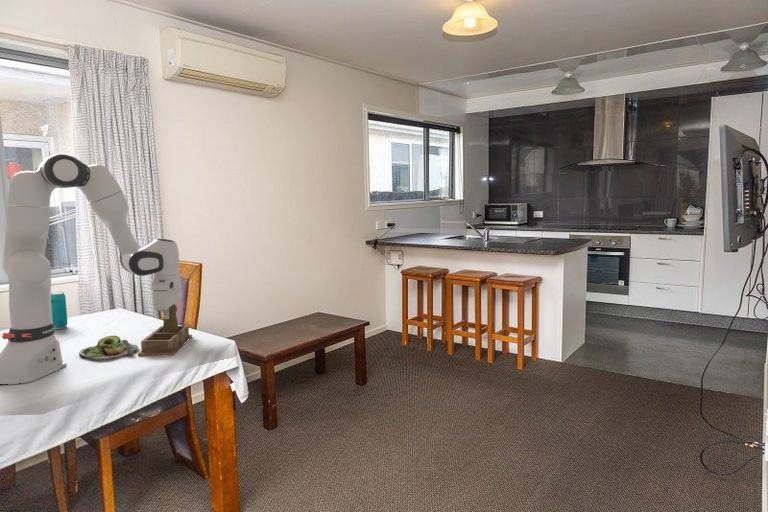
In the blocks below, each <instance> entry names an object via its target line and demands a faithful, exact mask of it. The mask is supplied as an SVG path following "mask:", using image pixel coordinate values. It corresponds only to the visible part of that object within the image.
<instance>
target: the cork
mask: <svg viewBox="0 0 768 512" xmlns="http://www.w3.org/2000/svg"><path fill="white" fill-rule="evenodd" d="M177 312H178V307H177V304H176V305H172V306H171V307H169V314H170V318H169V319H164V318H163V323H162V326H163V333H173V332H179V326H180V325H179V322H178V318H177Z"/></svg>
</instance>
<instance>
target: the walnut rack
mask: <svg viewBox="0 0 768 512" xmlns="http://www.w3.org/2000/svg"><path fill="white" fill-rule="evenodd" d="M178 326H179V332H173V333H163V325H160V326H159V327H158V328H157V329H156V330H154V331H153V332H151V333H150V334H148V336H146V337H145V338H144V339H141V340H140V345H141V350H140V351H139V352H138V353H137V356H138V357H154V356H155V357H156V356H157V357H159V356H161V357H162V355H172V356H175V355H176V354H177V352H179V351H180V349H181V348H182V347H183V346H184V345H185V344H186V343H187V342H188V341H189V340H190V338H191V337H193V335H192V334H190V331H189V327H190V326H189V325H178ZM188 339H189V340H188ZM187 340H188V341H187ZM186 341H187V342H186ZM185 342H186V343H185ZM184 343H185V344H184ZM183 344H184V345H183ZM182 345H183V346H182ZM181 346H182V347H181Z"/></svg>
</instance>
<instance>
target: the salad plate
mask: <svg viewBox="0 0 768 512" xmlns="http://www.w3.org/2000/svg"><path fill="white" fill-rule="evenodd" d="M138 347H139V346H138V345H137V344H133V343H129V341H128V340H127V339H122V340H121V338H120V336H118V335H108V336H105V337H102V338H100V339H99V340H98V341H97V344H96V345H94V346H89V347H86V348H83V349H81V350H79V352H78V353H79V356H80V357H81V358H83V359H87V358H88V360H92V359H93V360H92V361H100V360H102V361H110V359H112V360H116V359H119V358H122V357H126V356H129V355H133V354H134V352H135V351H137V349H138ZM103 355H104V356H103ZM109 355H110V356H109Z"/></svg>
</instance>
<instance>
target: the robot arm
mask: <svg viewBox="0 0 768 512" xmlns="http://www.w3.org/2000/svg"><path fill="white" fill-rule="evenodd" d="M75 187H76V188H77V189H79V190H80V191H81V192H82V194H83V195H85V198H86V200H87V201H88V203H89V205H90V207H91V208H92V210H93V211H94V213H95V214H96V216H97V217H98V218H99V219H100V220H101V221H102V223H103V224H104V225H105V226H106V228H107V229H108V231H109V233H110V235H111V236H112V238H113V240H114V242H115V244H116V246H117V248H118V251H119V262H120V265H121V267H122V268H123V270H124V271H126V272H129V273H132V274H133V275H136V276H140V277H144V276H145V277H146V276H148V275H152V274H154V279H153V282H152V283H150V290H151V291H153V292H152V301H153V308H154V310H155V312H162V314H163V320H164V319H169V318H170V314H169V307H171V306H172V305H176V306H177V303H178V302H179V301H181V300H182V299H183V291H182V284H181V272H180V267H179V266H180V254H179V253H180V252H179V247H178V244H177V242H176V241H174V240H172V239H166V238H155V239H154V240H153V241H152V242H151V243H149V244H147V245H146V246H143V247H142V246H141V245H139V244H138V243H137V241H136V239H135V237H134V235H133V233H132V230H131V229H130V227H129V225H128V221H127V218H128V217H127V216H128V214H129V208H130V207H129V204H128V201H127V199H126V196H125V194H124V191H123V190H122V188H121V186H120V185H119V183H118V181H117V180H116V179H115V177H114V176H113V174H112V173H111V172H110V170H109V169H108V168H107V167H106V166H105V165H101V164H90V165H87V164H85V163H83V161H81V160H80V159H78V158H77V157H75V156H73V155H70V154H68V153H67V154H66V153H53V154H50V155H48V156H46V157H45V158H44V159H43V160H42V161H41V162H40V163H39V164H38V166H37V167H36V169H35V170H34V171H33V170H32V171H31V170H24V171H23V170H22V171H19V172H17V173H14V175H13V176H12V178H11V179H10V184H9V188H8V192H7V201H6V202H7V205H6V229H5V238H4V246H3V256H2V257H3V260H2V268H3V271H4V273H5V274H6V275H7V278H8V292H9V293H8V310H9V318H10V319H9V320H10V327H9V331H8V332H3V333H2V335H1V338H2V339H3V340H7V343H6V345H5V346H4V348H3V349H2V350H1V352H0V384H8V385H19V383H21V384H26V383H31V382H32V383H33V382H34V381H36V380H39V379H41V378H42V377H45V376H47V375H49V374H52V373H54V372H55V371H58V370H60V369H62V368H64V367H66V366H67V362H66V361H64V360H63V356H62V351H61V350H62V349H61V345H60V341H59V340H58V339H57V337H56V336H55V333H56V329H55V326H54V322H52V312H51V293H52V265H51V262H50V261H49V259H48V258H47V257H46V248H47V242H48V237H49V233H50V217H51V216H50V214H51V213H50V211H51V209H50V208H51V196H52V193H53V191H54V190H55V189H67V188H75Z"/></svg>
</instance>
